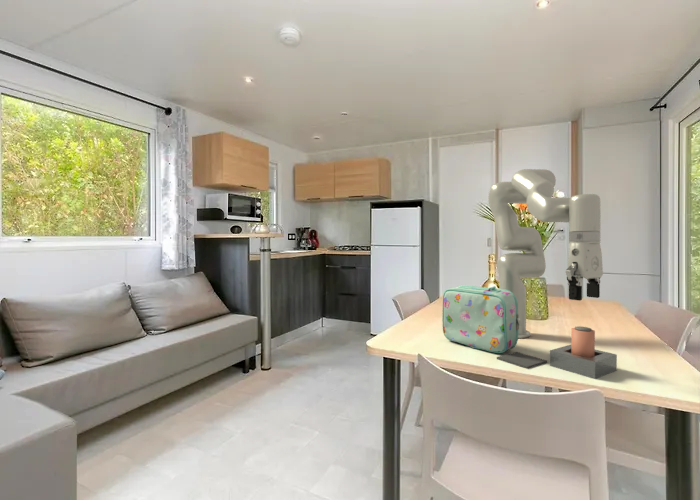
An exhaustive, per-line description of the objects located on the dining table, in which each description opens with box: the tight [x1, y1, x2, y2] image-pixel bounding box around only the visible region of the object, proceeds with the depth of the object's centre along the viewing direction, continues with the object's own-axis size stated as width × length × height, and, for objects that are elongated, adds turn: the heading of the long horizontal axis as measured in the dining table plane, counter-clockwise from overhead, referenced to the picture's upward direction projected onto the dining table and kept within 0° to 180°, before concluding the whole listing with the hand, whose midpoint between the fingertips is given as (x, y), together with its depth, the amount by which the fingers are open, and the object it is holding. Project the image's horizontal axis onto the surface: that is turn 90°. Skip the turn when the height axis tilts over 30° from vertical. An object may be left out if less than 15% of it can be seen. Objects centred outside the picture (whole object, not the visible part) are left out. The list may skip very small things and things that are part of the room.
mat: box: [496, 351, 548, 369], centre depth 110 cm, size 10×10×1 cm
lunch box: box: [441, 284, 521, 354], centre depth 125 cm, size 27×10×21 cm, turn 37°
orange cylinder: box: [570, 325, 596, 358], centre depth 104 cm, size 6×6×12 cm
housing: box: [549, 344, 618, 380], centre depth 104 cm, size 12×12×4 cm
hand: (584, 298), depth 103 cm, fingers open, 9 cm apart
